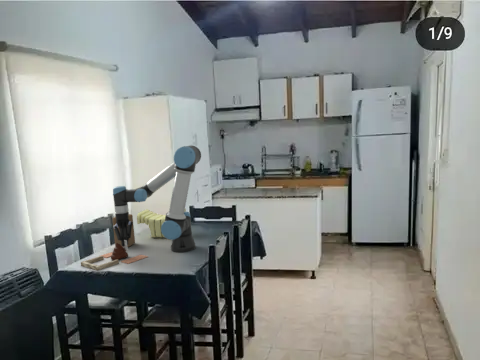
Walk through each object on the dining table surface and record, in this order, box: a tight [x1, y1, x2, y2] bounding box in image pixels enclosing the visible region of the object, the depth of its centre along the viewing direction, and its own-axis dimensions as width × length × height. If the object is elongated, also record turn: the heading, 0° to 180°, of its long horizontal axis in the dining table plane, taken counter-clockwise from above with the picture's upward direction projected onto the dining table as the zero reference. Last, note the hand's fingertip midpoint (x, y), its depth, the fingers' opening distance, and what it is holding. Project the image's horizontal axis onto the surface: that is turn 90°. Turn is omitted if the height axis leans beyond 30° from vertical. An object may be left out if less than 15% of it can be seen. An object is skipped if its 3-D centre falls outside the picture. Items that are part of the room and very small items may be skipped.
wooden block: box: [112, 213, 136, 248], centre depth 272 cm, size 10×10×20 cm
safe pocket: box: [80, 255, 120, 271], centre depth 235 cm, size 17×14×2 cm
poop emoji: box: [110, 243, 129, 261], centre depth 244 cm, size 10×8×9 cm
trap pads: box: [100, 251, 149, 265], centre depth 247 cm, size 29×14×1 cm, turn 50°
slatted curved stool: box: [136, 207, 187, 239], centre depth 291 cm, size 30×16×18 cm, turn 76°
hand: (125, 250), depth 248 cm, fingers closed
